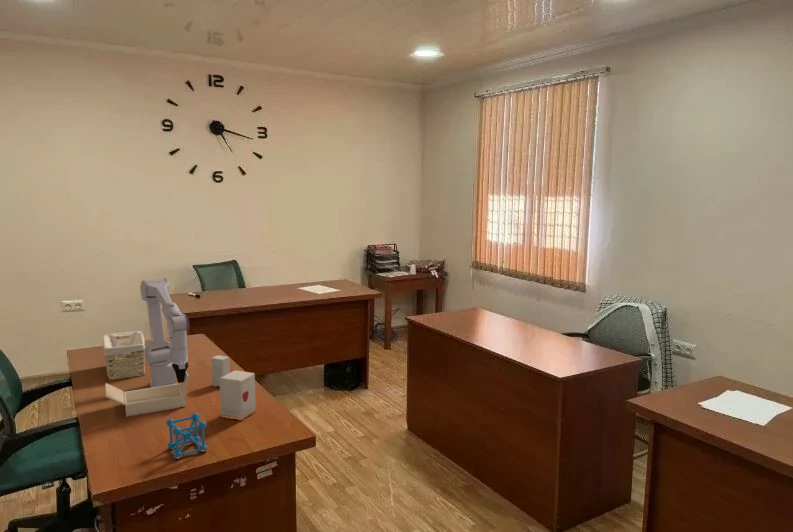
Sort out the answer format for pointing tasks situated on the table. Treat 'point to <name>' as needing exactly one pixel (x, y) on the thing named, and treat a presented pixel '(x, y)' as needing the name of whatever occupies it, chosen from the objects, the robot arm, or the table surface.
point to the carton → (154, 399)
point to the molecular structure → (186, 434)
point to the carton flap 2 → (185, 383)
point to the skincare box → (219, 368)
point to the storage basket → (124, 355)
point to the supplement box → (237, 394)
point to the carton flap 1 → (114, 394)
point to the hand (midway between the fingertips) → (180, 382)
